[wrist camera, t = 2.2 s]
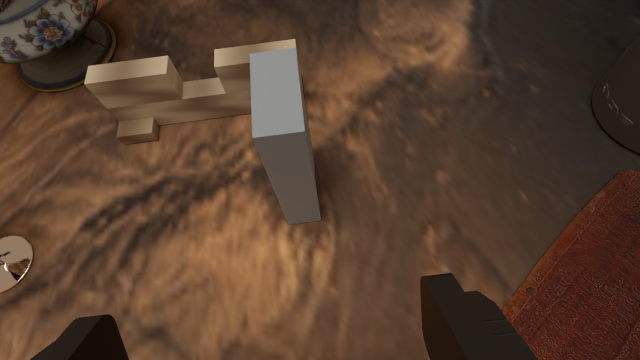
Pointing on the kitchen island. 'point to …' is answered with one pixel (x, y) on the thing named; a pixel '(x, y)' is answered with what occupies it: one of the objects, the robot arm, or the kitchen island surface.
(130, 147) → the kitchen island surface
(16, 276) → the wineglass
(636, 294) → the wooden tablet
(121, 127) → the birch slotted board
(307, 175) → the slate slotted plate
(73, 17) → the apothecary jar
